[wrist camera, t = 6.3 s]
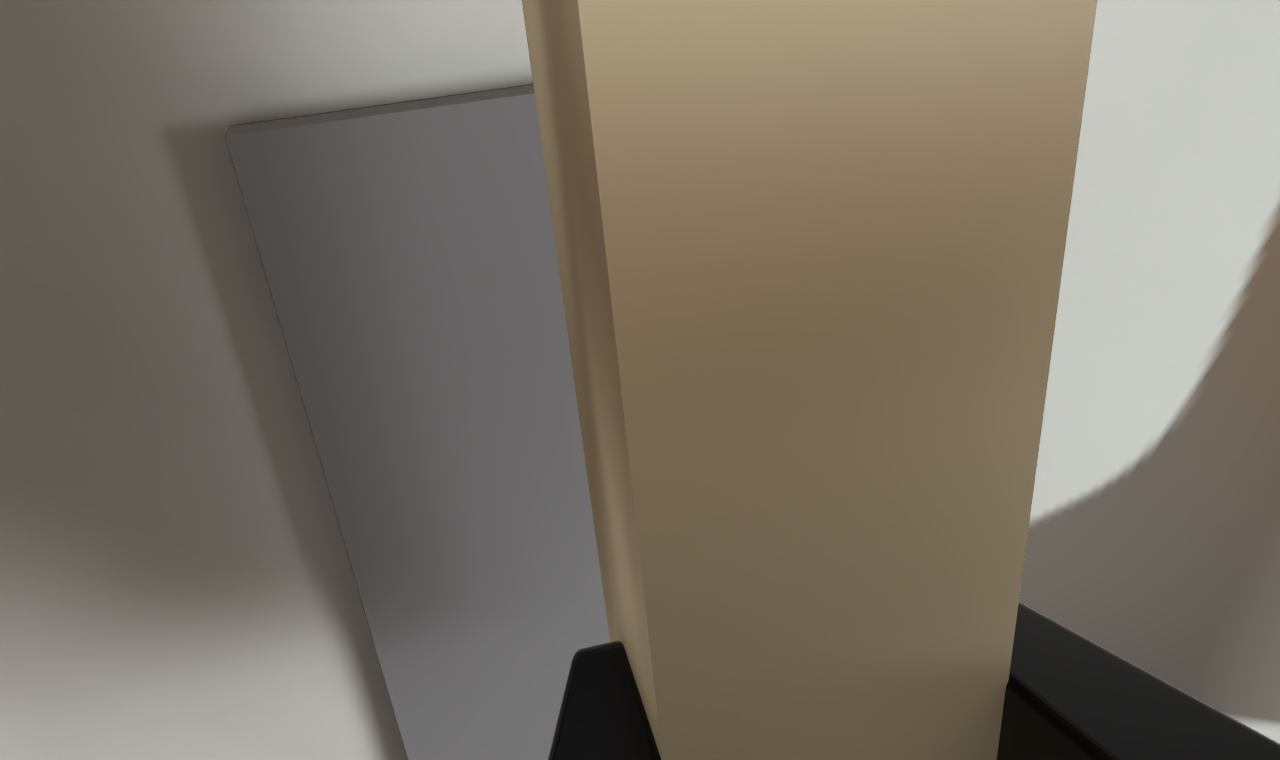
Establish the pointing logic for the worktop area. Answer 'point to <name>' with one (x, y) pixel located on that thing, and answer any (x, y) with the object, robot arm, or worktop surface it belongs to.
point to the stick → (812, 349)
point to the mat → (438, 400)
